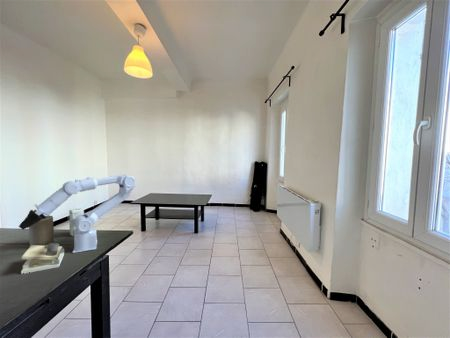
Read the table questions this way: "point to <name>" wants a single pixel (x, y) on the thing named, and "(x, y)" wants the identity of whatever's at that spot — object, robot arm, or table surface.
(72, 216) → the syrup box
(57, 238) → the table surface
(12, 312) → the table surface
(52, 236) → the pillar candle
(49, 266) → the stand
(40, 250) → the plate
